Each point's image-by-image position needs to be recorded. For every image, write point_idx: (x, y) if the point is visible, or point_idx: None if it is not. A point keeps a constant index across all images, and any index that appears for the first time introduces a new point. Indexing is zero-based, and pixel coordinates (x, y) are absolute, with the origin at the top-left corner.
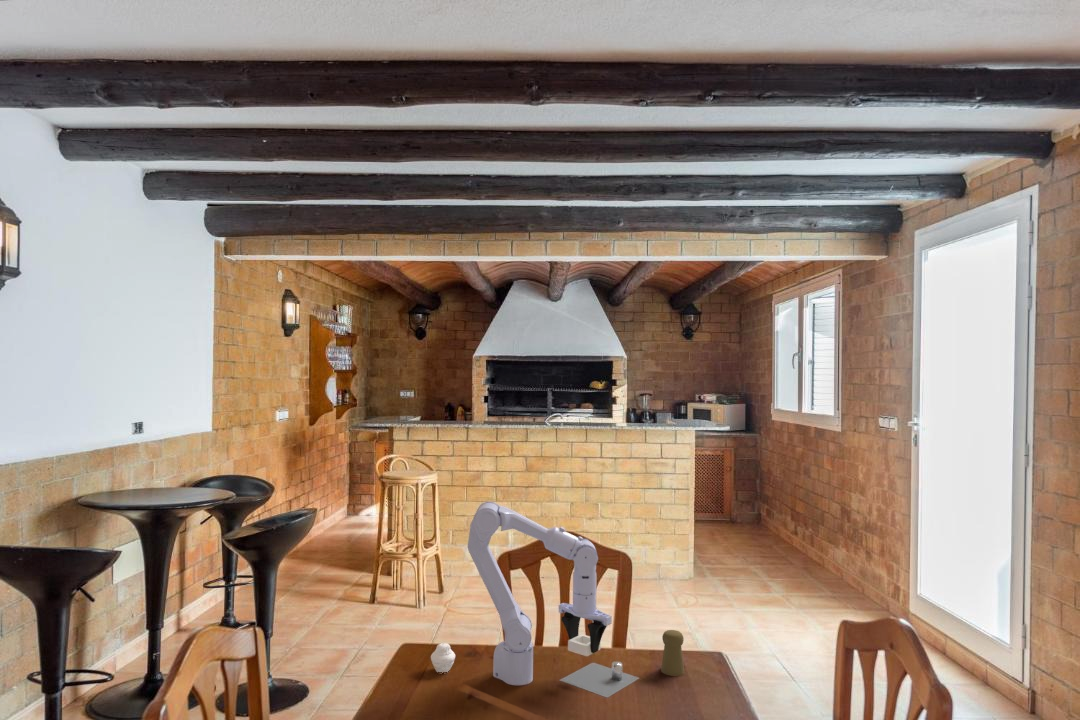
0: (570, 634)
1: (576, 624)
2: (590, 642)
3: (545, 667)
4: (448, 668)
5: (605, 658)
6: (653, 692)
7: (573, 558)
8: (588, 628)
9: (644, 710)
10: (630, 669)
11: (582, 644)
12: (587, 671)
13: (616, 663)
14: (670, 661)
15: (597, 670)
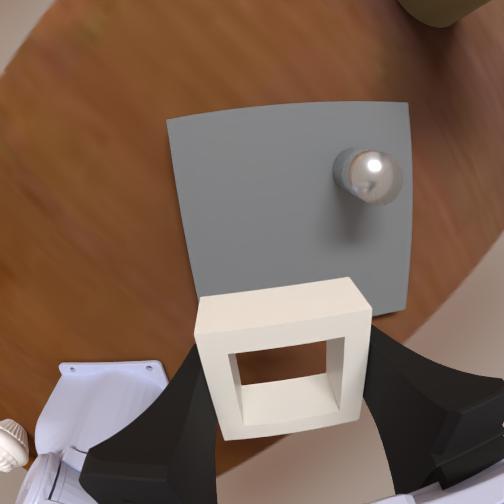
0: (213, 444)
1: (197, 448)
2: (369, 409)
3: (68, 269)
4: (25, 438)
5: (146, 19)
6: (459, 138)
7: None
8: (396, 493)
9: (481, 254)
10: (296, 23)
11: (326, 423)
12: (219, 209)
13: (378, 181)
14: (477, 6)
15: (243, 169)
